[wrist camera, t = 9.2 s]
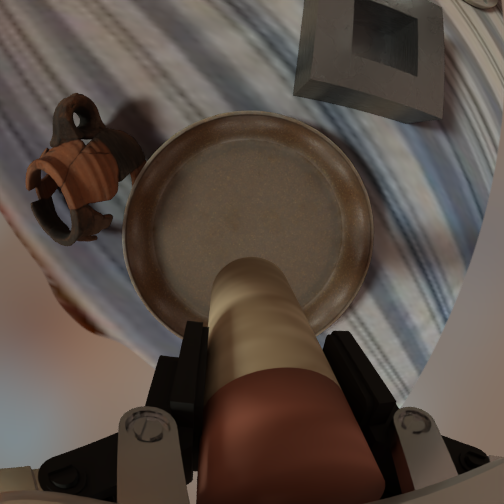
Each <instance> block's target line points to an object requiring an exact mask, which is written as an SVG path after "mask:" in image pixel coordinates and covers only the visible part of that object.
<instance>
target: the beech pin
mask: <svg viewBox="0 0 504 504" xmlns="http://www.w3.org/2000/svg"><path fill="white" fill-rule="evenodd" d="M208 327H209V336H208V349H207V362H206V375H205V390H204V405H203V422H202V435H201V438H200V442H199V456H198V477H197V500H196V504H364V503H368V502H373V501H377V500H379V499H380V498H381V496H382V494H383V493H384V490H385V480H384V478H383V476H382V474H381V472H380V469H379V467H378V465H377V463H376V461H375V459H374V457H373V454H372V452H371V450H370V448H369V446H368V444H367V442H366V440H365V437H364V435H363V433H362V431H361V429H360V427H359V425H358V423H357V421H356V418H355V416H354V414H353V412H352V410H351V408H350V406H349V404H348V402H347V400H346V398H345V396H344V394H343V391H342V389H341V387H340V385H339V383H338V381H337V379H336V377H335V375H334V373H333V371H332V369H331V367H330V365H329V363H328V361H327V359H326V357H325V355H324V353H323V350H322V348H321V346H320V344H319V342H318V340H317V338H316V336H315V334H314V332H313V330H312V328H311V326H310V324H309V322H308V320H307V318H306V316H305V314H304V312H303V310H302V308H301V306H300V304H299V302H298V300H297V298H296V296H295V294H294V292H293V290H292V288H291V286H290V284H289V282H288V280H287V278H286V277H285V275H284V273H283V272H282V270H281V269H280V268H279V267H278V266H276V265H275V264H274V263H272V262H271V261H268V260H266V259H263V258H259V257H244V258H240V259H237V260H234V261H232V262H230V263H229V264H227V265H226V266H225V267H223V268H222V269H221V271H220V272H219V273H218V274H217V276H216V278H215V280H214V282H213V285H212V291H211V301H210V311H209V322H208Z"/></svg>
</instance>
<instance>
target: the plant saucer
mask: <svg viewBox="0 0 504 504" xmlns="http://www.w3.org/2000/svg"><path fill="white" fill-rule="evenodd" d="M373 240H374V223H373V214H372V208H371V203H370V200H369V197H368V194H367V191H366V188H365V186H364V183H363V181H362V179H361V177H360V175H359V173H358V172H357V170H356V169H355V167H354V165H353V164H352V163H351V161H350V160H349V158H348V157H347V156H346V155H345V154H344V153H343V151H342V150H341V149H340V148H339V147H338V146H337V145H336V144H335V143H333V142H332V141H331V140H330V139H329V138H328V137H326V136H325V135H323V134H322V133H321V132H319V131H318V130H316V129H315V128H313V127H311V126H309V125H307V124H305V123H303V122H301V121H299V120H296V119H294V118H291V117H287V116H284V115H280V114H276V113H271V112H264V111H235V112H228V113H223V114H218V115H215V116H212V117H208V118H205V119H203V120H200V121H198V122H195V123H193V124H191V125H190V126H188V127H186V128H184V129H183V130H181V131H179V132H178V133H176V134H175V135H173V136H172V137H171V138H170V139H168V140H167V141H166V142H165V143H164V144H163V145H162V146H161V147H160V148H159V149H158V150H157V151H156V152H155V153H154V154H153V155H152V156H151V157H150V159H149V160H148V161H147V162H146V164H145V165H144V167H143V168H142V170H141V171H140V173H139V175H138V177H137V178H136V180H135V182H134V184H133V187H132V189H131V192H130V194H129V197H128V200H127V203H126V208H125V212H124V219H123V228H122V243H123V253H124V259H125V263H126V267H127V270H128V274H129V276H130V279H131V282H132V284H133V286H134V288H135V290H136V292H137V294H138V296H139V297H140V299H141V300H142V302H143V303H144V305H145V306H146V307H147V309H148V310H149V312H150V313H151V314H152V315H153V316H154V317H155V318H156V319H157V320H158V321H159V322H160V323H161V324H162V325H163V326H164V327H165V328H167V329H168V330H169V331H171V332H172V333H173V334H175V335H176V336H178V337H179V338H181V339H183V336H184V332H185V327H186V323H187V321H196V322H203V327H208V322H209V311H210V301H211V291H212V285H213V282H214V280H215V278H216V276H217V274H218V273H219V272H220V271H221V269H222V268H223V267H225V266H226V265H227V264H229V263H230V262H232V261H234V260H237V259H240V258H244V257H259V258H263V259H266V260H268V261H271V262H272V263H274V264H275V265H276V266H278V267H279V268H280V269H281V270H282V272H283V273H284V275H285V277H286V278H287V280H288V282H289V284H290V286H291V288H292V290H293V292H294V294H295V296H296V298H297V300H298V302H299V304H300V306H301V308H302V310H303V312H304V314H305V316H306V318H307V320H308V322H309V324H310V326H311V328H312V330H313V332H314V334H315V336H318V335H319V334H320V333H322V332H323V331H324V330H326V329H327V328H328V327H330V326H331V325H332V324H333V323H334V322H335V321H336V320H337V319H338V318H339V317H340V316H341V315H342V314H343V313H344V312H345V310H346V309H347V308H348V306H349V305H350V304H351V302H352V301H353V299H354V298H355V296H356V295H357V293H358V291H359V289H360V287H361V285H362V283H363V281H364V279H365V277H366V274H367V271H368V268H369V265H370V261H371V256H372V250H373Z"/></svg>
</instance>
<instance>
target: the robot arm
mask: <svg viewBox="0 0 504 504" xmlns="http://www.w3.org/2000/svg"><path fill="white" fill-rule="evenodd" d="M464 1H466V2H467V3H469V4H471V5H473V6H475V7H478V8H482V9H488V8H491V7H493V6H495V5H496V4H497V3H498V0H464ZM208 336H209V327H203V322H196V321H187V323H186V327H185V332H184V336H183V341H182V346H181V350H180V355H179V358H178V357H169V356H162V355H161V356H160V357H159V359H158V363H157V366H156V370H155V373H154V377H153V380H152V383H151V387H150V390H149V394H148V397H147V401H146V405H145V406H144V407H137V408H134V409H131V410H129V411H128V412H126V413H125V414H124V415H123V416H122V417H121V419H120V422H119V430H118V433H115V434H113V435H110V436H108V437H106V438H103V439H101V440H98V441H96V442H93V443H91V444H88V445H85V446H83V447H80V448H77V449H75V450H72V451H69V452H66V453H64V454H61V455H58V456H55V457H52V458H50V459H49V460H47V461H45V462H44V464H42V465H41V467H40V469H33V470H32V469H31V467H30V466H25V467H16V468H4V469H0V504H190V502H189V497H188V492H187V486H186V485H187V484H189V483H190V482H191V481H192V480H193V471H198V456H199V442H200V438H201V435H202V422H203V405H204V390H205V375H206V362H207V349H208ZM323 353H324V355H325V357H326V359H327V361H328V363H329V365H330V367H331V369H332V371H333V373H334V375H335V377H336V379H337V381H338V383H339V385H340V387H341V389H342V391H343V394H344V396H345V398H346V400H347V402H348V404H349V406H350V408H351V410H352V412H353V414H354V416H355V418H356V421H357V423H358V425H359V427H360V429H361V431H362V433H363V435H364V437H365V440H366V442H367V444H368V446H369V448H370V450H371V452H372V454H373V457H374V459H375V461H376V463H377V465H378V467H379V469H380V472H381V474H382V476H383V478H384V480H385V490H384V493H383V494H382V496H381V498H380V499H379V500H377V501H373V502H368V503H364V504H504V457H499V456H491V455H489V456H487V455H486V454H485V453H484V452H483V451H482V450H480V449H478V448H475V447H473V446H470V445H467V444H464V443H461V442H459V441H456V440H453V439H450V438H448V437H445V436H442V435H441V434H440V432H439V429H438V427H437V425H436V423H435V421H434V419H433V418H432V417H431V416H430V415H429V414H428V413H427V412H425V411H423V410H422V409H419V408H415V407H403V408H401V409H399V408H398V406H397V405H396V400H395V399H394V397H393V395H392V394H391V392H390V391H389V389H388V388H387V386H386V385H385V383H384V382H383V380H382V379H381V377H380V376H379V374H378V373H377V371H376V370H375V368H374V367H373V365H372V364H371V362H370V361H369V359H368V358H367V356H366V355H365V354H364V352H363V351H362V349H361V348H360V346H359V345H358V343H357V342H356V340H355V339H354V337H353V336H352V334H351V333H350V332H349V331H333V332H332V333H331V335H327V337H326V340H325V343H324V347H323Z"/></svg>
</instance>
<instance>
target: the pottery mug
mask: <svg viewBox="0 0 504 504" xmlns="http://www.w3.org/2000/svg"><path fill="white" fill-rule="evenodd" d="M74 112H75V113H76V114H77V115H78V116H79V118H80V124H79V126H78V127H76V126H75V124H74V120H73V113H74ZM80 139H92V140H91V141H90V142H89V143H88V144H87V145H85V144H84V142H83V141H82V140H80ZM50 146H51V147H53V148H52V149H50V150H49V149H48V148H46V149H45V150H44V152H43V153H42V155H41V157H40V158H39V159H36V160H35V161H33V162H32V163H31V164H30V165H29V167H28V169H27V173H26V188H27V190H28V191H30V190H32V189H34V188H35V189H36V193H37V196H38V198H39V200H38V201H35V202H32V203H31V209H32V211H33V213H34V215H35V218H36V219H37V221H38V223H39V224H40V226H41V227H42V228H43V230H44V231H45V232H46V233H47V234H48V235H49V236H50V237H51V238H52V239H53V240H54V241H55V242H58V243H59V244H61V245H64V246H71V245H72V244H73V243H75V242H76V241H93V240H97V236H95V235H94V234H97V233H99V232H100V231H101V230H102V229H106V228H108V227H109V226H110V224H111V222H112V219H113V216H112V215H111V214H106V215H102V214H101V213H99V212H97V211H95V210H94V209H93V208H92V207H90V206H89V205H88V204H89V203H96V202H101V201H106V200H111V199H112V198H113V197H114V196H115V195H116V193H117V191H118V182H120V181H122V180H123V179H124V178H125V177H126V176H127V175H128V174H130V175H131V179H132V187H133V184H134V182H135V180H136V178H137V177H138V175H139V173H140V171H141V170H142V168H143V167H144V165H145V164H146V160H145V156H144V153H143V151H142V149H141V147H140V146H139V145H138V143H137V142H136V140H135V139H134V138H133V137H132V136H130V135H128V134H127V133H125V132H123V131H120V130H114V129H109V128H106V126H105V125H104V123H103V122H102V120H101V118H100V115H99V112H98V109H97V107H96V105H95V104H94V102H93V101H92V100H91V99H89V98H88V97H86V96H84V95H82V94H78V93H74V94H72V95H71V96H70V97H67V98H64V99H63V100H61V102H60V103H59V104H58V106H57V107H56V109H55V112H54V116H53V136H52V139H51V141H50ZM41 170H43V171H45V172H46V173H48V174H47V175H46V176H45V177H44V178H43V179H41ZM58 186H59V187H60V188H61V191H62V193H63V195H64V197H65V199H66V202H67V204H68V207H69V209H70V214H71V221H72V228H71V231H70V230H69V228H68V226H67V225H66V224H65V223H63V221H62V220H61V219H60V218H59V217H58V215H57V213H56V211H55V207H54V204H53V200H52V197H51V196H52V194H53V193H54V192H55V190H56V189H57V187H58ZM91 235H93V236H91Z"/></svg>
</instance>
